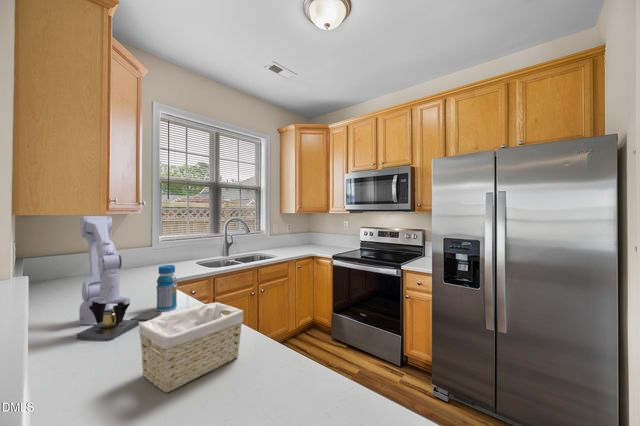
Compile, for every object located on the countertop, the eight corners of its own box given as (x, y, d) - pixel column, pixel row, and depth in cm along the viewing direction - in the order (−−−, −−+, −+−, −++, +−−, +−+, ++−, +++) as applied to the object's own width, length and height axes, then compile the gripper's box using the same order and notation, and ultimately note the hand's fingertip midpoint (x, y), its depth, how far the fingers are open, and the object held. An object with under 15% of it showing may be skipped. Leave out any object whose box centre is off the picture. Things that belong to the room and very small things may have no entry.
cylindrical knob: (99, 334, 99) (100, 312, 99) (109, 329, 103) (109, 308, 103) (110, 334, 99) (110, 312, 99) (119, 329, 103) (119, 308, 103)
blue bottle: (161, 313, 120) (161, 268, 120) (153, 309, 125) (153, 266, 125) (180, 308, 127) (180, 265, 127) (172, 304, 132) (172, 263, 132)
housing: (76, 339, 95) (76, 333, 95) (108, 324, 108) (108, 319, 108) (111, 340, 94) (111, 334, 94) (138, 325, 107) (138, 320, 107)
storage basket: (215, 342, 92) (215, 299, 92) (246, 357, 82) (245, 309, 83) (135, 377, 72) (136, 322, 73) (164, 401, 63) (164, 338, 63)
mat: (130, 320, 111) (130, 318, 111) (143, 313, 119) (143, 312, 119) (148, 321, 111) (148, 319, 111) (161, 314, 119) (161, 312, 119)
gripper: (81, 289, 97) (81, 326, 97) (119, 289, 96) (119, 327, 96) (98, 284, 104) (98, 319, 104) (134, 284, 104) (134, 320, 103)
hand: (109, 322), depth 101 cm, fingers open, 7 cm apart
